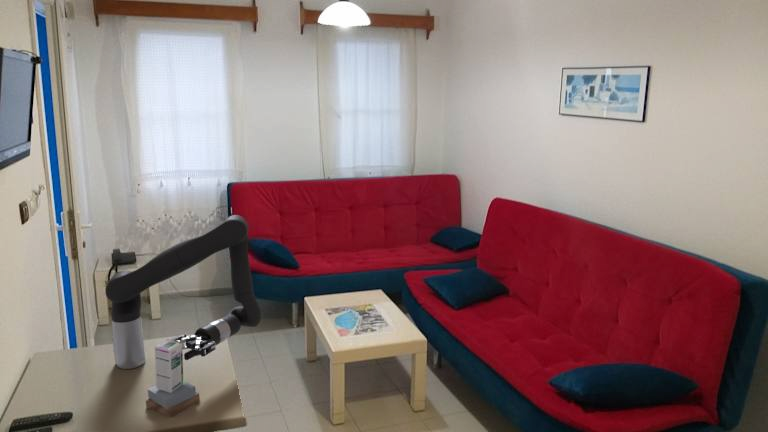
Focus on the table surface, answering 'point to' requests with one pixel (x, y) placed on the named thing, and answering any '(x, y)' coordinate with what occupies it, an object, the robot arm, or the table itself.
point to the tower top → (172, 395)
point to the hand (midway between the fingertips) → (175, 354)
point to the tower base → (175, 409)
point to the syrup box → (169, 365)
